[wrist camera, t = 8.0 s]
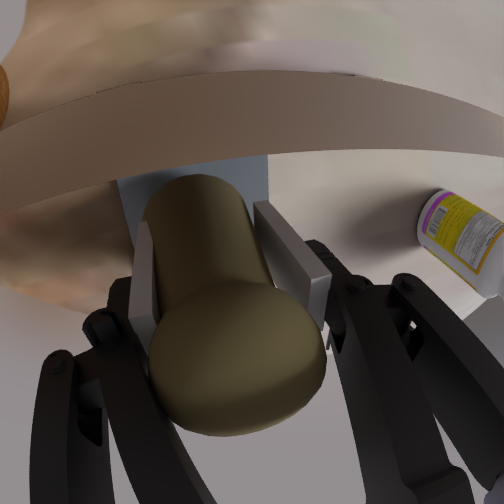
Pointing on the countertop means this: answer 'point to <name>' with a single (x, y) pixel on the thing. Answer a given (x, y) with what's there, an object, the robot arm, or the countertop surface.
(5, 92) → the disposable coffee cup
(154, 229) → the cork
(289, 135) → the screen
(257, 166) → the coaster
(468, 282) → the supplement bottle
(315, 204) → the countertop surface
